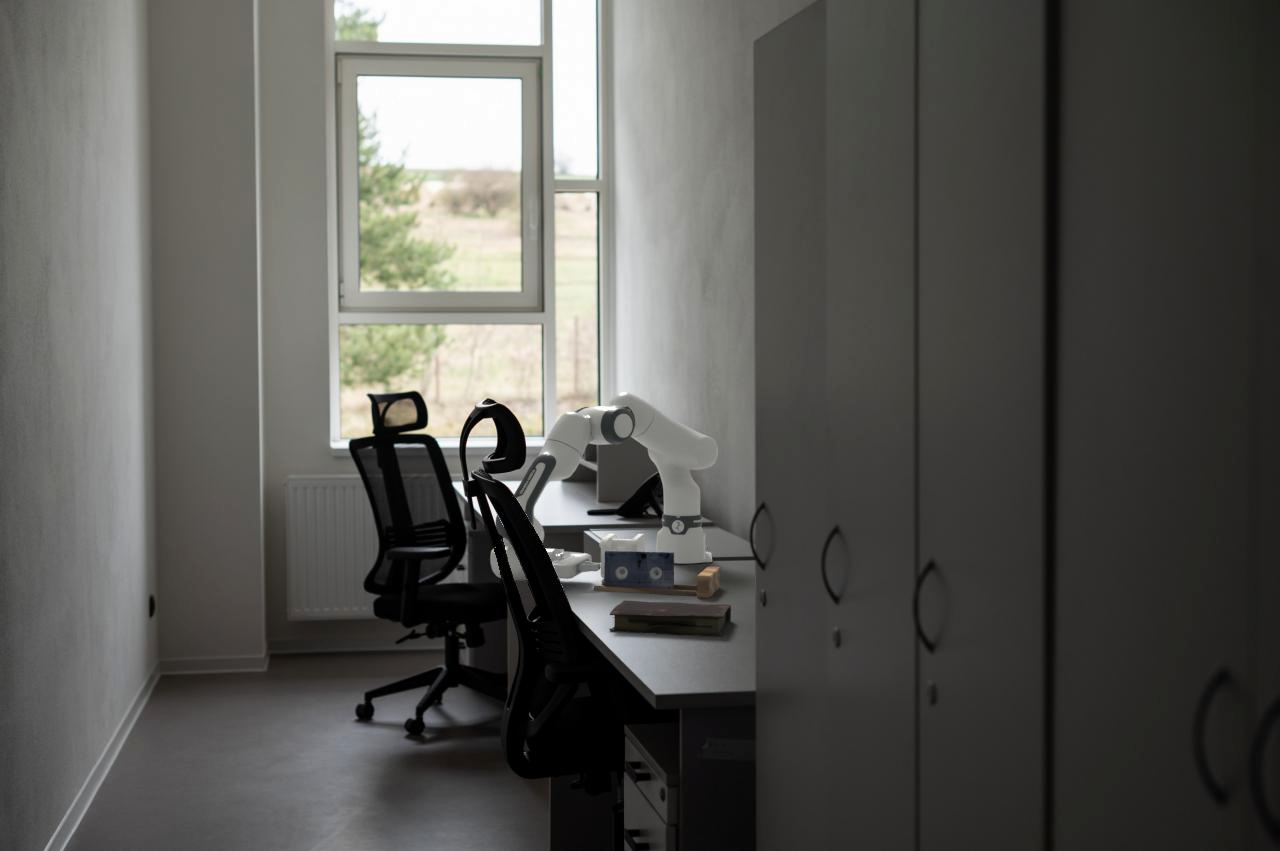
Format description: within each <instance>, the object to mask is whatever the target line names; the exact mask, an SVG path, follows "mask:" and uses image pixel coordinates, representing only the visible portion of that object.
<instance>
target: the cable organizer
mask: <svg viewBox="0 0 1280 851" xmlns="http://www.w3.org/2000/svg"><path fill="white" fill-rule="evenodd" d="M645 545H646V538H645V533H637V534H636V535H635V536H634V537H633V538H632V539H625V538H624V539H623V538H617V534H616V533H608V534H606V535H605V536H604V537H602V539H601V540H600V541H599V545H598V546H599V548H600V564H601V568H600V577H601V579H602V578H603V579H604V570H605V569H604V566H605V551H620V552H623V551H625V552H646V551H645V550H646V546H645Z"/></svg>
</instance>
